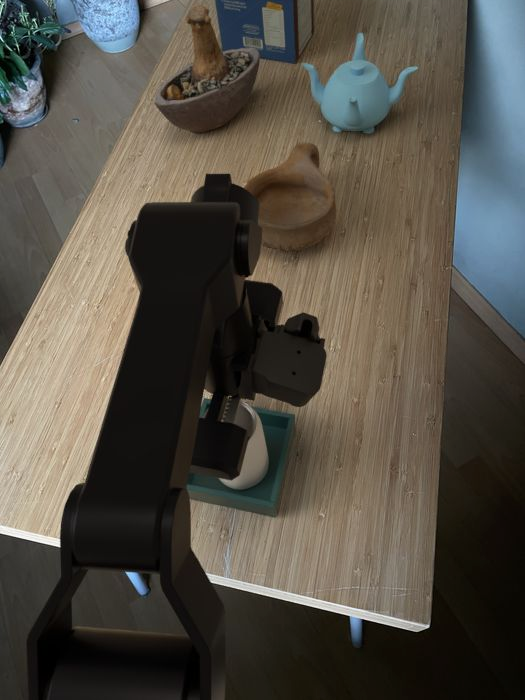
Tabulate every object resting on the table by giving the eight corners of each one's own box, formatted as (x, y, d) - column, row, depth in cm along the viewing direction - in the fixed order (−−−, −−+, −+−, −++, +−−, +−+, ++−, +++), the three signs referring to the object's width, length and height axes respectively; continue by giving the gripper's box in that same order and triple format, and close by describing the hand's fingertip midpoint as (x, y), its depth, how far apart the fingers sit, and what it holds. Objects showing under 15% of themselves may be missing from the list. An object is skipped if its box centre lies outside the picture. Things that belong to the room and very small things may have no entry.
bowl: (242, 170, 94) (253, 119, 85) (327, 189, 96) (346, 140, 87) (229, 257, 85) (240, 208, 76) (323, 276, 87) (344, 230, 78)
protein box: (241, 21, 118) (232, -65, 105) (314, 32, 114) (314, -56, 101) (220, 52, 113) (207, -35, 100) (296, 64, 109) (292, -24, 96)
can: (221, 497, 68) (203, 460, 58) (210, 446, 71) (191, 403, 61) (275, 482, 68) (267, 443, 58) (262, 432, 72) (252, 387, 61)
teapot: (301, 116, 102) (299, 62, 93) (361, 84, 105) (364, 28, 96) (349, 155, 96) (351, 101, 87) (411, 120, 99) (419, 64, 90)
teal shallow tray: (276, 517, 67) (274, 507, 63) (182, 497, 69) (175, 486, 65) (296, 427, 72) (295, 414, 69) (209, 411, 74) (203, 397, 71)
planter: (163, 149, 100) (130, 35, 83) (186, 87, 109) (161, -29, 92) (248, 154, 98) (233, 37, 81) (265, 90, 106) (255, -28, 89)
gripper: (293, 458, 40) (300, 517, 54) (337, 249, 49) (333, 344, 63) (141, 429, 42) (184, 493, 56) (210, 233, 51) (232, 329, 65)
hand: (239, 410), depth 60 cm, fingers open, 9 cm apart
